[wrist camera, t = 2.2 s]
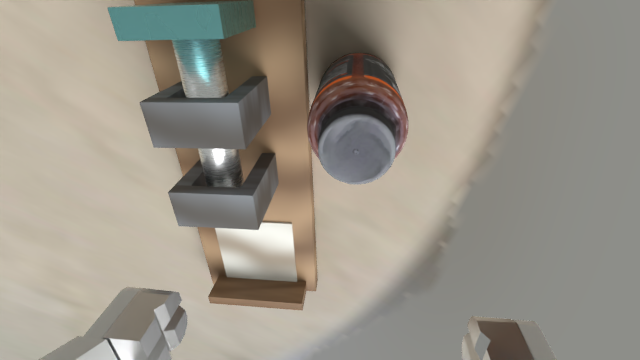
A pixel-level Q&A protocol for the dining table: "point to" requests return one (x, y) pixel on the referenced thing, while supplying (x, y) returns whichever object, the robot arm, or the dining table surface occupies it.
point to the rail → (246, 158)
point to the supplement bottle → (357, 119)
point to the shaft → (194, 58)
